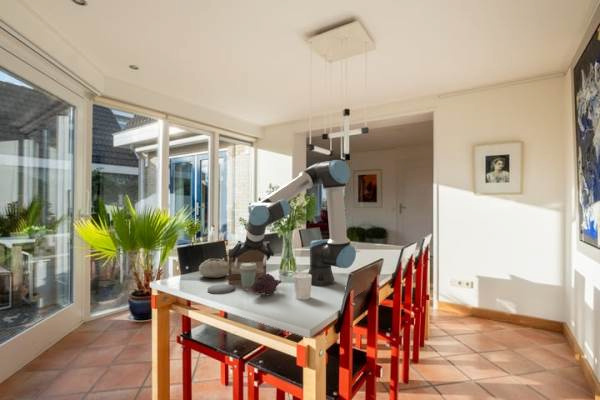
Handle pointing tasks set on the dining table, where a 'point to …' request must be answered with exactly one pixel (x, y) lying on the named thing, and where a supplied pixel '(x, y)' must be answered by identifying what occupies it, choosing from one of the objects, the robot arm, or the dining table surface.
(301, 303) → the dining table surface
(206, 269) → the beige rounded lump
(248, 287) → the coffee cup
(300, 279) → the white cup
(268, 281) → the pine cone
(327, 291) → the dining table surface
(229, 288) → the rubber mat
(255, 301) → the dining table surface
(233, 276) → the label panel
